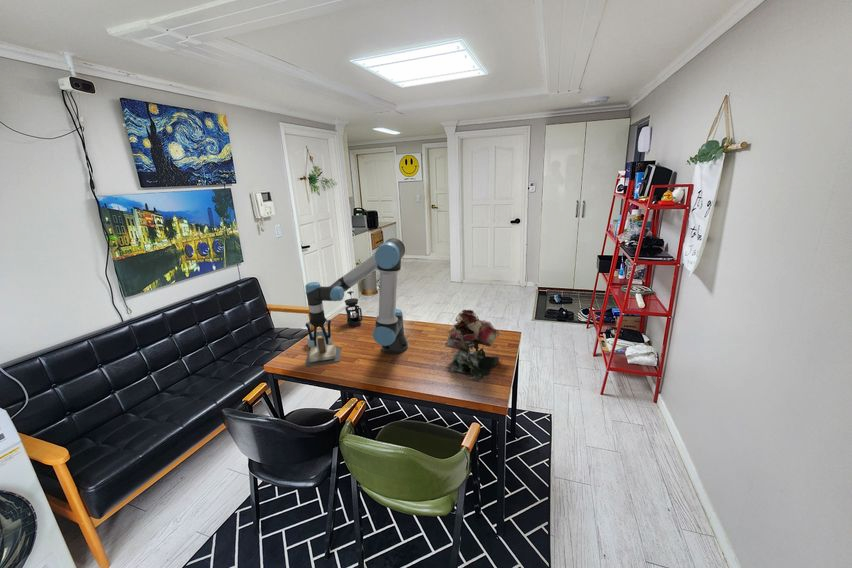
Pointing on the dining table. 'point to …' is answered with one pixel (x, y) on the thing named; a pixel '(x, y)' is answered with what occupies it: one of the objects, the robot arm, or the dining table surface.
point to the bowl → (318, 335)
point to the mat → (324, 360)
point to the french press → (355, 317)
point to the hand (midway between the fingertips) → (322, 349)
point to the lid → (322, 351)
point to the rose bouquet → (471, 344)
